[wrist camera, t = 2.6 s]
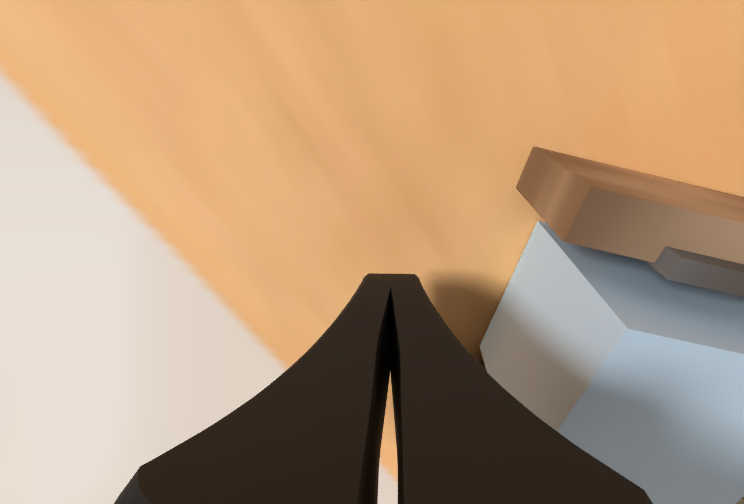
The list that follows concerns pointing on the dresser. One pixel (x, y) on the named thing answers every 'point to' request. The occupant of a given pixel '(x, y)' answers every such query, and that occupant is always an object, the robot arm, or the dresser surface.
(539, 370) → the slate block
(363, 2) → the dresser surface
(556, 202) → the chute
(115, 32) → the dresser surface
